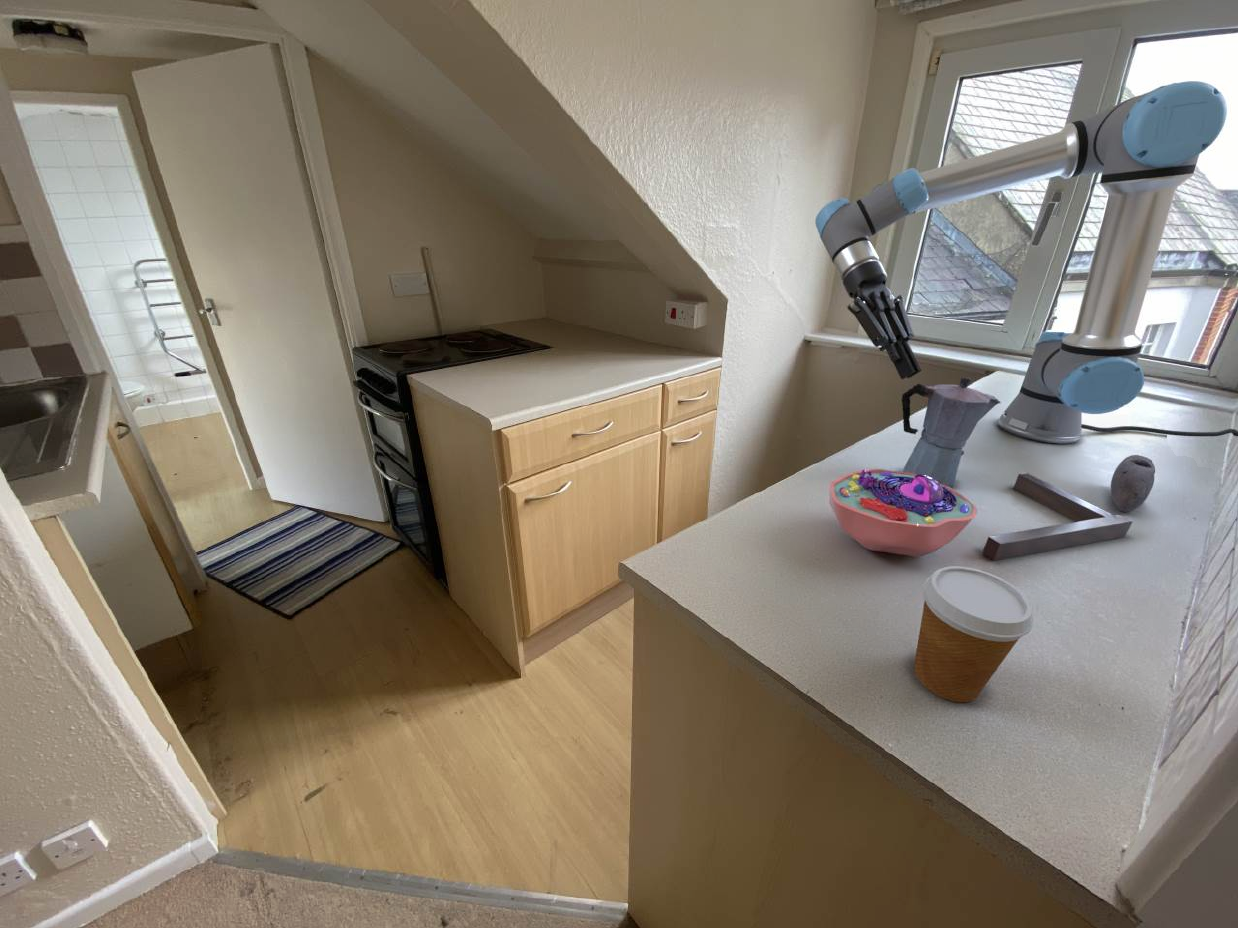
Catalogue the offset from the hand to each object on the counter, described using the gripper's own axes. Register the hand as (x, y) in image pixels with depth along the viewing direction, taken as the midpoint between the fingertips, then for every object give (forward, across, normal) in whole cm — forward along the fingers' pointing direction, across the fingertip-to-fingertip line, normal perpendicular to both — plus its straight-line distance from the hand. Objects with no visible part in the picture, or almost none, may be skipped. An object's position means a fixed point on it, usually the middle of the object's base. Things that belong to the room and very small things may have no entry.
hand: (911, 374), depth 99 cm
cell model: (+27, +24, +2) cm, 37 cm away
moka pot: (+19, 0, -7) cm, 20 cm away
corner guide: (+30, 0, +4) cm, 30 cm away
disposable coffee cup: (+43, +40, +17) cm, 61 cm away
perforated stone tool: (+33, -25, +7) cm, 42 cm away
